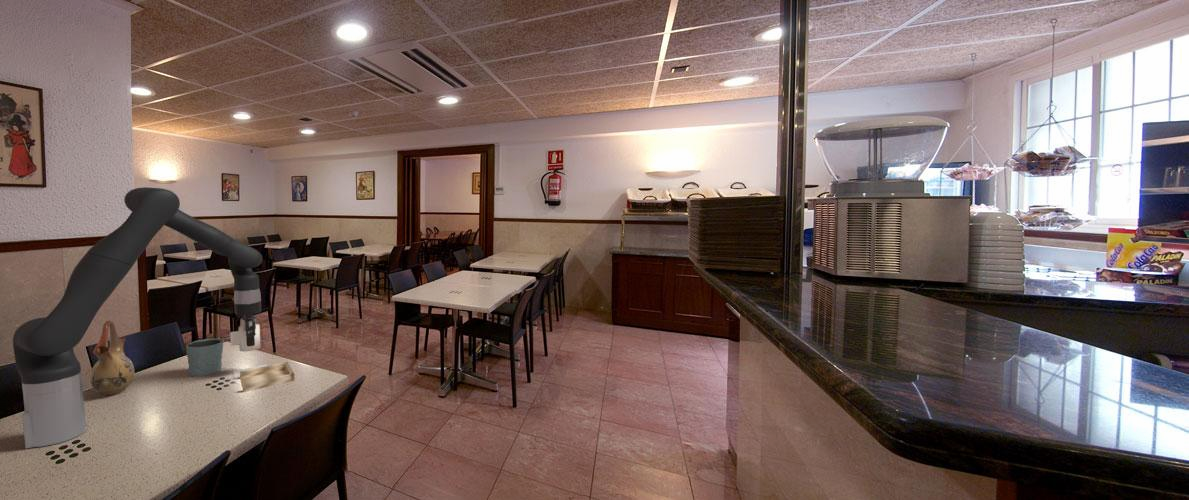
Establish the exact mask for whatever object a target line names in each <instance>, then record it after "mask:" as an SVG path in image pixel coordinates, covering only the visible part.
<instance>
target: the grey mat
mask: <svg viewBox="0 0 1189 500" xmlns="http://www.w3.org/2000/svg"><path fill="white" fill-rule="evenodd" d="M266 366H268V364H267V363H266V364H262V365H257V366H251V367H248V368H246V367H245V368H242V369H236V370H232V375H233V379H234V381H236V380H240V372H241V371H246V370H251V369H256V368H261V367H266Z"/></svg>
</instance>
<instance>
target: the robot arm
mask: <svg viewBox="0 0 1189 500" xmlns="http://www.w3.org/2000/svg"><path fill="white" fill-rule="evenodd" d="M123 201H124V205H125V206H126V208H127V209H128V210H130V211H131V213H130V214H129V216H128V217H127V218H126V220H125V221H124V222H123V223H122V224H121V225H120V226H119V227H117V228H116V229H114V230H113V231H112V232H110V233H108V234H107V235H106V236H104V237H103V238H101V239H99V240H98V242H96V243H95V244H93V246H91V247H90V249H88V250H87V252H86V253H85V254H84V255H83V257H82V258H80V260H79V261H78V262H77V264H76V266H75V267H74V268H73V270H72V272H71V274H70V276H69V280H68V282H67V286H66V288H65V291H64V294H63V296H62V298H61V299H60V301H59V302H58V303H57V305H56V306H55V307H54V308H53V309H52V311H50V312H49V314H48V315H47V316H44V317H38V318H33V319H31V320H28V321H26V322H24V323H22V324H21V325H20V326H19V327H17V329H16V330H15V332H14V334H13V336H12V347H13V348H12V349H13V354H14V355H13V356H14V360H15V366H16V370H17V372H18V374H19V376H20V380H21V388H22V395H23V406H24V411H23V413H22V414H21V417H22V419H21V420H22V427H23V437H24V446H25V449H29V448H30V449H31V448H38V447H39V448H42V447H46V446H51V445H52V446H53V445H56V444H60V443H63V442H66V441H69V440H72V439H75V438H77V437H80V436H81V435H82V434H84V433H85V432H86V431H87V421H86V420H87V419H86V412H85V411H86V410H85V399H84V390H83V389H84V388H83V377H82V366H81V362H80V361H79V359H78V358H77V355H75V351H74V348H75V347H77V345H78V344H79V343H80V342H81V341H82V339H83V338H84V336H85V334H86V333H87V331H88V329H89V328H90V326H91V324H92V322H93V320H94V319H95V316H96V315H97V314H98V312H99V310H100V309H101V307H102V306H103V305H104V303H105V302H106V301H107V299H108V298H109V297H110V296H111V295H112V294H113V292H114V291H115V289H117V287H118V286H119V284H120V283H121V282H122V281H123V279H124V278H126V275H128V273H129V272H130V271H131V269H132V268H133V266H134V265H135V263H136V262H137V260H139V258H140V257H141V255H142V254H143V252H144V251H145V250H146V248H147V247H148V246H149V244H150V243H151V241H152V240H153V239H154V237H155V236H156V235H157V234H158V233H159V231H161V229H162V228H163V227H168V228H169V229H172V230H174V231H175V232H177V233H179V234H182V235H183V236H185V237H186V238H188V239H190V240H192V241H193V242H196V243H197V244H199V245H201V246H202V247H204V248H206V249H208V250H210V251H211V252H213V253H215V254H217V255H220V256H224V257H227V262H228V266H229V269H230V273H231V275H232V278H233V284H234V285H233V286H234V287H233V288H234V295H233V302H234V303H233V304H234V314H235V315H237V316H242V317H241V324H242V325H243V328H244V331H246V339H247V346H248V347H249V346H254V345H255V339H254V336H255V334H256V333H255V329H256V324H257V318H256V315H255V314H259V313H261V312H262V296H261V290H260V278H259V275H258V274H257V273H255V272H254V271H253V269H252V268H256V267H259V266H260V265H261V264H262V263H263V255H262V254H261V253H260V251H258V250H257V249H255V248H253V247H251V246H249V245H248V244H245V243H243V242H241V241H238V240H237V239H235V238H233V237H231V236H230V235H229V234H227V233H225V232H224V231H223V230H220V229H218V228H217V227H215V226H213V225H210V224H208V223H206V222H204V221H201V220H200V219H198V218H196V217H193V216H191V215H190V214H187V213H185V212H184V211H182V210H181V209H180V205H181V203H180V198H179V197H178V194H176V193H175V192H173V191H172V190H170V189H167V188H161V187H150V186H149V187H144V186H143V187H137V188H136V187H135V188H133V189H131V190H129V191H128V192H126V194H125V196H124V200H123ZM242 325H241V326H242ZM250 330H253V333H248V331H250Z"/></svg>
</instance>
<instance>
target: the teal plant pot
mask: <svg viewBox="0 0 1189 500" xmlns="http://www.w3.org/2000/svg"><path fill="white" fill-rule="evenodd" d="M223 349H224V339H222V338H207V339H198V340H194V341H192V342H189V343H187V344H185V350H186V357H187V364H188V373H189V376H190V377H191V378H192V377H193V378H194V377H203V376H208V375H212V374H216V373H219V372H221V371H222V366H223V362H222V359H223Z"/></svg>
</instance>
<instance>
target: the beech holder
mask: <svg viewBox="0 0 1189 500" xmlns="http://www.w3.org/2000/svg"><path fill="white" fill-rule="evenodd" d="M239 380H240V383H241V386H242V391H243V393H247V392H250V391H255V390H258V389H259V390H260V389H264V388H268V387H273V386H276V385H277V386H278V385H280V384H285V383H291V382H295V373H294V371H293V369H292V367H291V366H290V364H289V362H286V361H285V362H281V363H275V364H272V365H267V366H266V367H261V368H256V369H251V370H246V371H241V372H240V379H239Z"/></svg>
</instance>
